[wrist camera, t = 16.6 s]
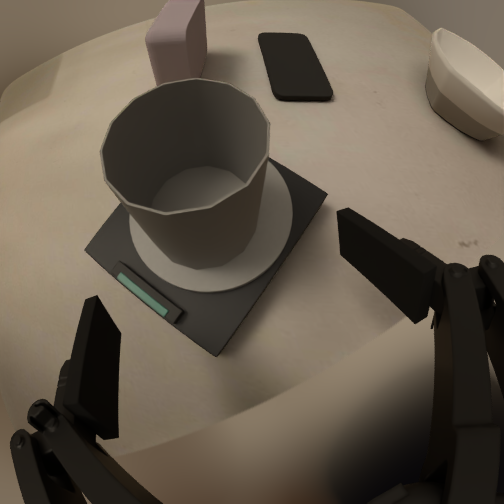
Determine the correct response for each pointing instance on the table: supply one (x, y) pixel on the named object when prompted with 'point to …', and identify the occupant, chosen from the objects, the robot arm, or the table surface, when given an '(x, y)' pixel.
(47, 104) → the table surface
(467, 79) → the bowl
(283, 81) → the phone
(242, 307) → the scale
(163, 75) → the electronic device
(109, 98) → the table surface
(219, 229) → the cup
